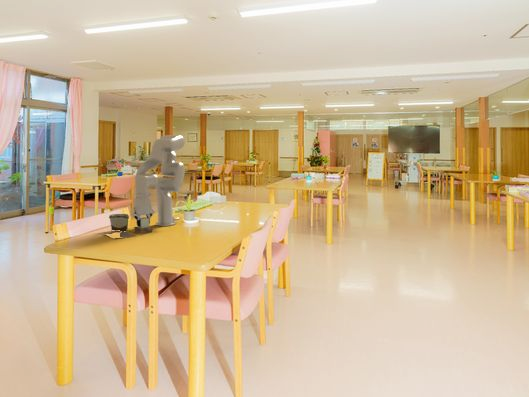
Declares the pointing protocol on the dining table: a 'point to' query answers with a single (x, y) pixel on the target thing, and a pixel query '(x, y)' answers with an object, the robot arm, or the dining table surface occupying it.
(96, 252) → the dining table surface
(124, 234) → the charcoal mat
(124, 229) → the food container
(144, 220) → the sage block
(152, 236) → the dining table surface
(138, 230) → the walnut holder
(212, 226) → the dining table surface
